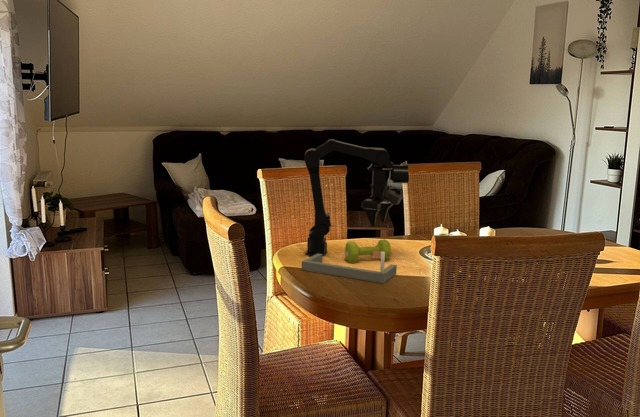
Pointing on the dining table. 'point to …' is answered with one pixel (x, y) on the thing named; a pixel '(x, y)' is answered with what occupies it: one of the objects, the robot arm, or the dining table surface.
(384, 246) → the dumbbell
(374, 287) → the dining table surface
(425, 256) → the dining table surface
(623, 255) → the dining table surface
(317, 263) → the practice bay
